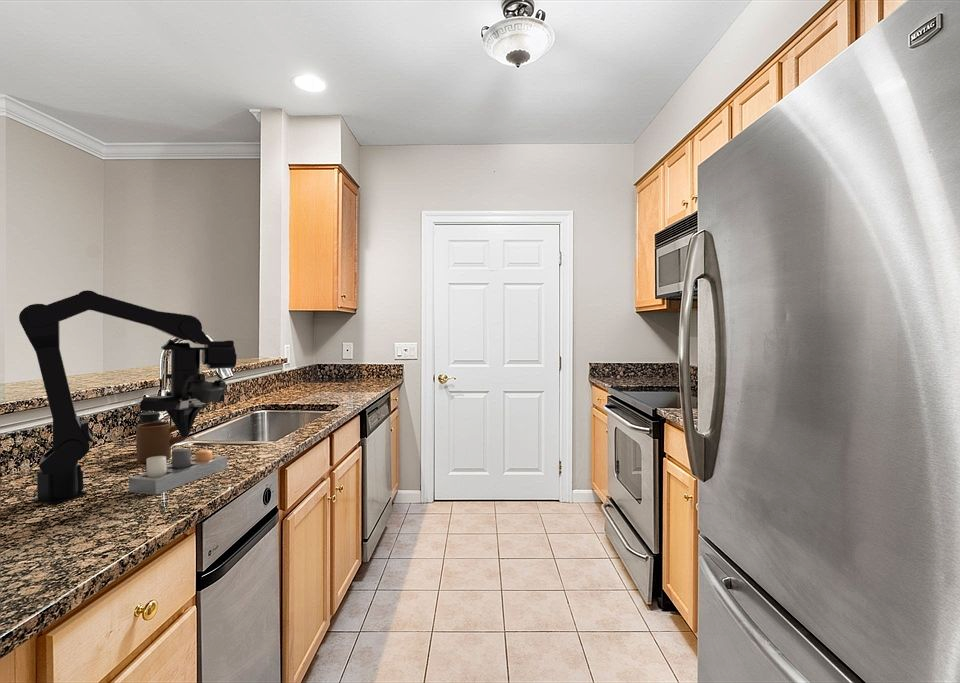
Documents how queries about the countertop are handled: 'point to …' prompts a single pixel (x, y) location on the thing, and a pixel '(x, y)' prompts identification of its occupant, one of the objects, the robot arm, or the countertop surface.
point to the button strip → (176, 476)
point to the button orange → (203, 455)
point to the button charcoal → (181, 459)
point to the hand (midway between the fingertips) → (185, 436)
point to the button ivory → (156, 466)
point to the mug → (155, 440)
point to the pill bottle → (149, 417)
